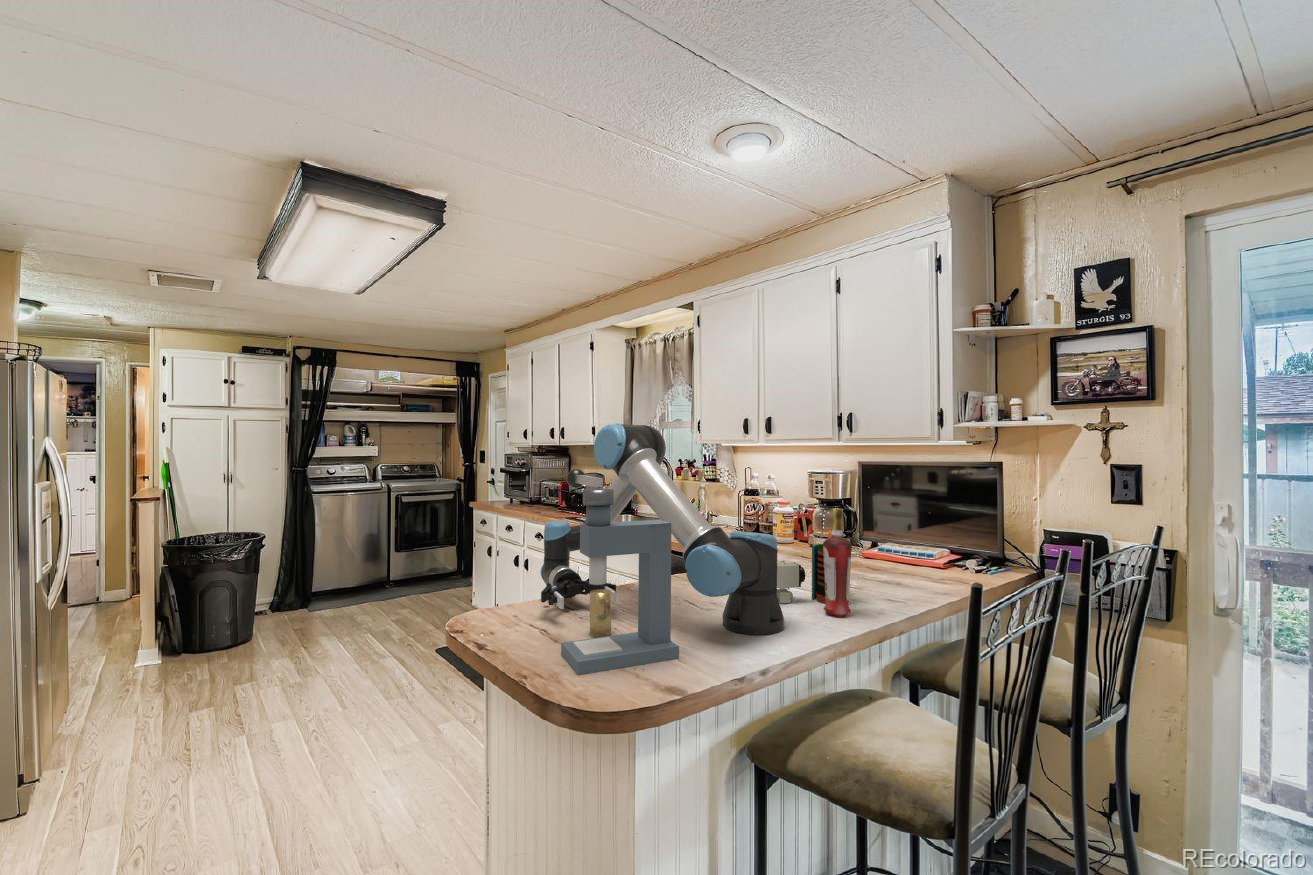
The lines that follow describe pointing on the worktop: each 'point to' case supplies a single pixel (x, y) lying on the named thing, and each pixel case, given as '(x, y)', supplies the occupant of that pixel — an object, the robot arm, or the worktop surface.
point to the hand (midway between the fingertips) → (589, 600)
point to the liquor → (837, 569)
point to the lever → (591, 495)
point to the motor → (818, 572)
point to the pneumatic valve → (788, 579)
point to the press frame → (652, 597)
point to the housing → (600, 613)
